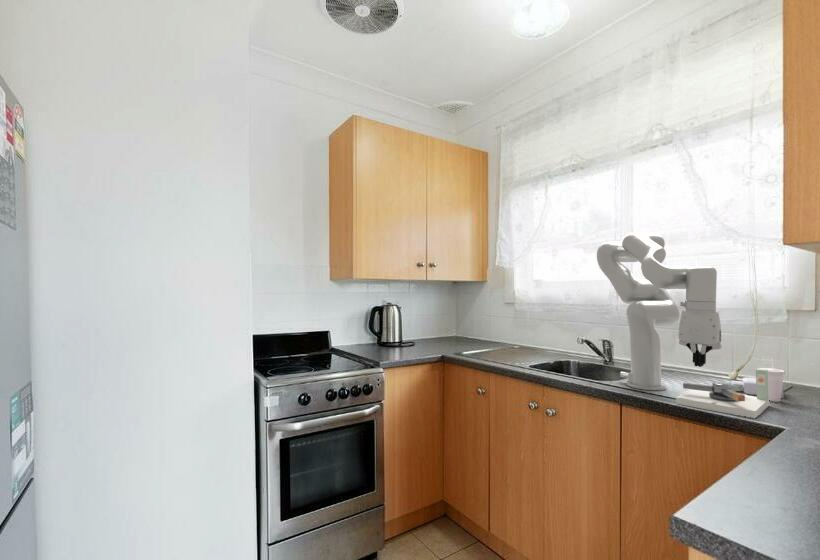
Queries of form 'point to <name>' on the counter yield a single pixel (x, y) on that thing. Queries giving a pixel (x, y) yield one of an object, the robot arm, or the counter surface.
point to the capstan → (719, 390)
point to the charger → (749, 385)
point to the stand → (742, 408)
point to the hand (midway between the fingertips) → (699, 365)
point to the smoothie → (775, 382)
